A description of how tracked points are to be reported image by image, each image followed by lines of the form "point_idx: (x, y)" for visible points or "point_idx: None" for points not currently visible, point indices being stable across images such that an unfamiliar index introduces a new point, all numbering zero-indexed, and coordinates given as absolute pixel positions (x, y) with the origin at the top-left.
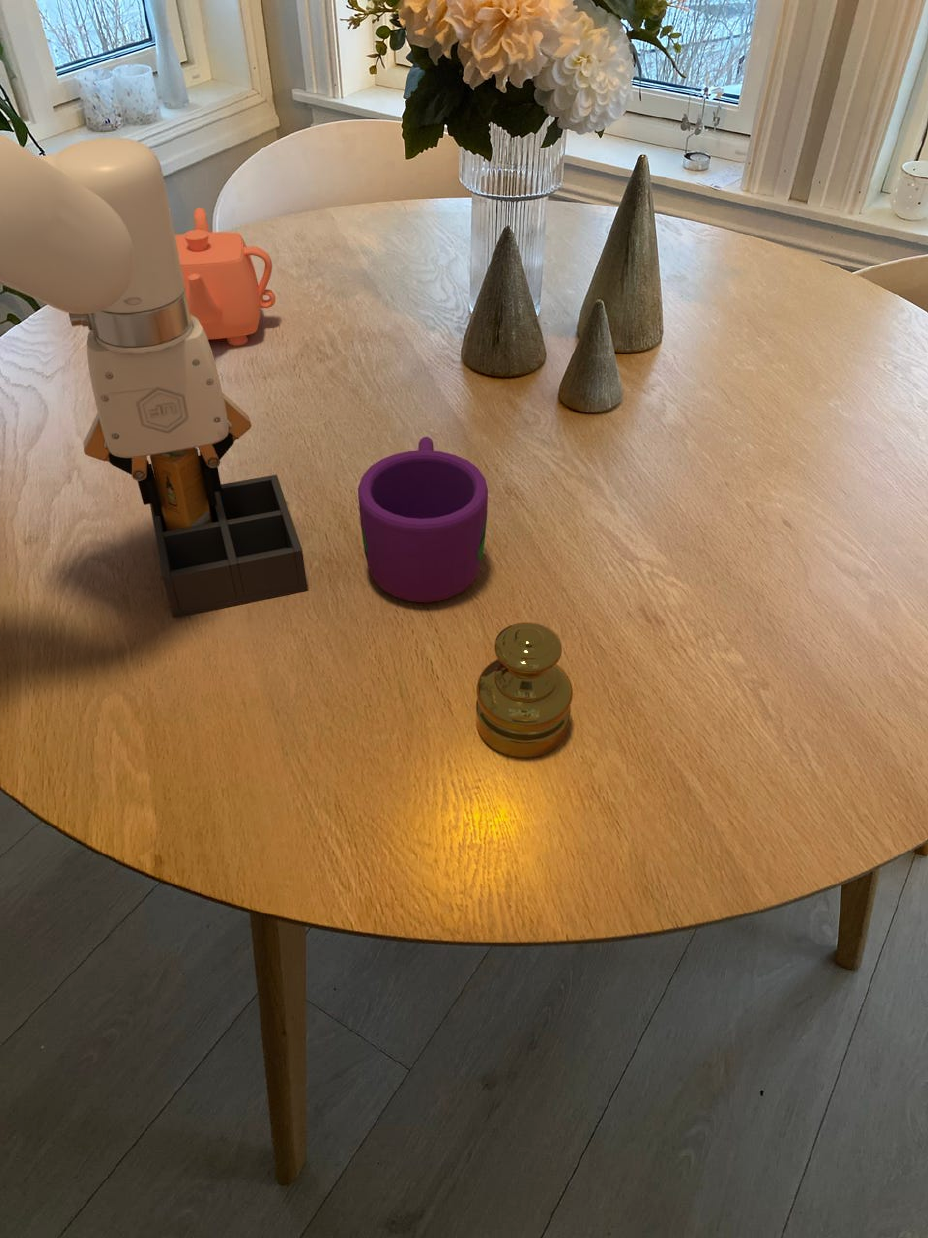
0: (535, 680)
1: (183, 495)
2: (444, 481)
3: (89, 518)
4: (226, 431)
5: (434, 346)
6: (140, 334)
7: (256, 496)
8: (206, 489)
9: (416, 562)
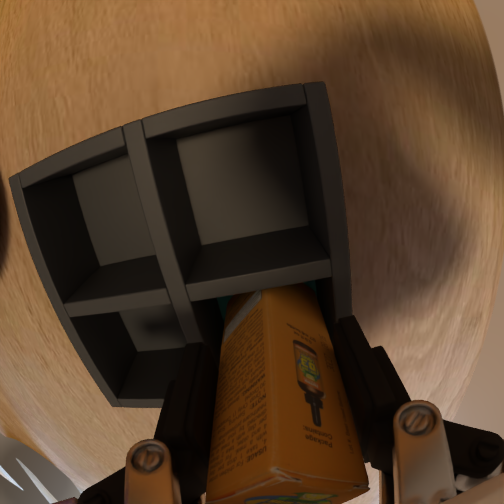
0: None
1: (267, 362)
2: None
3: (414, 360)
4: None
5: (84, 486)
6: None
7: (151, 376)
8: (199, 381)
9: None
